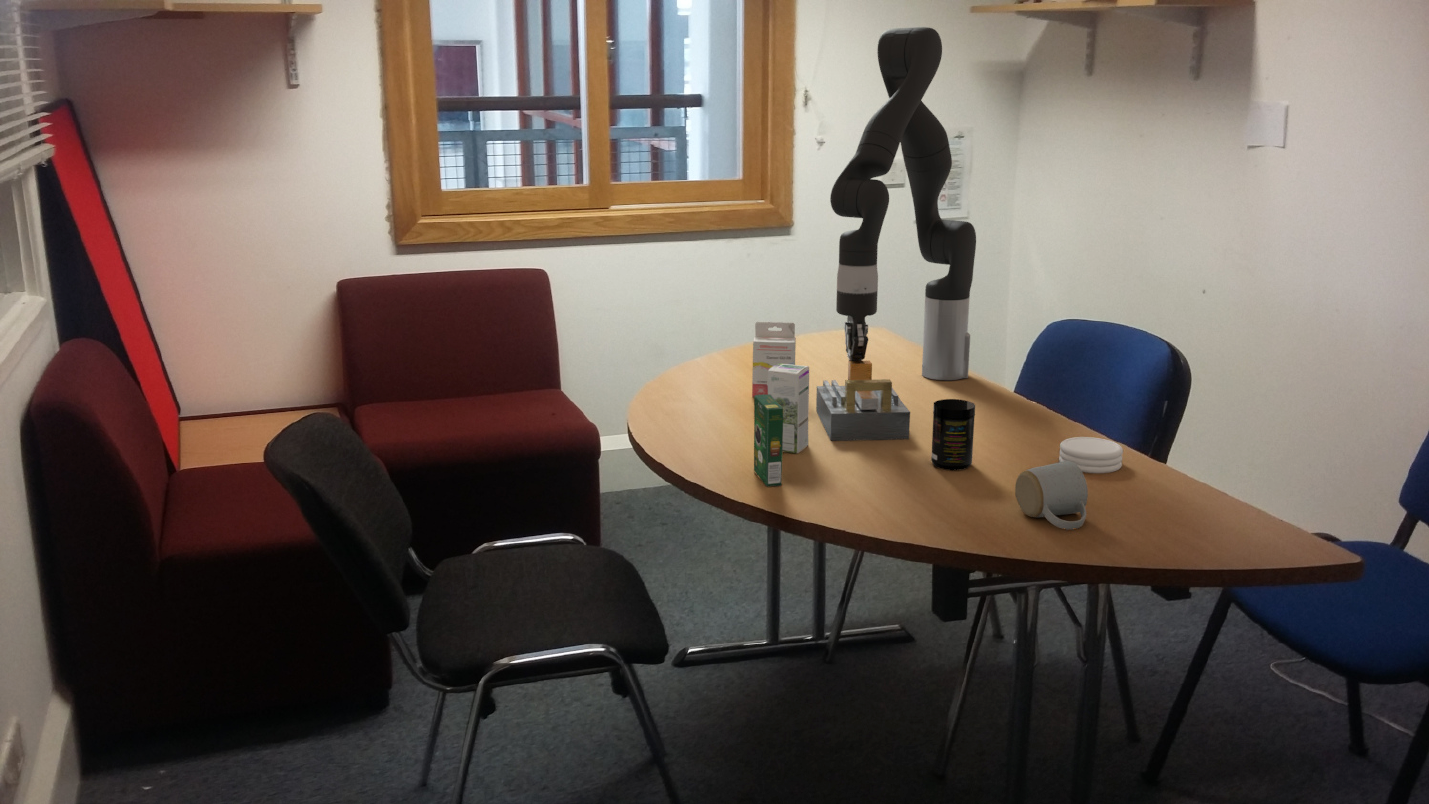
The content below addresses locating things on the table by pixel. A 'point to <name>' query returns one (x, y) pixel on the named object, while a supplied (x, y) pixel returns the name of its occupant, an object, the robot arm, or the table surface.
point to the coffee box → (768, 439)
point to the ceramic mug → (1053, 493)
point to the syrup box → (791, 403)
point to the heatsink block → (862, 411)
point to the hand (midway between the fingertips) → (854, 378)
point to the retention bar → (863, 372)
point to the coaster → (1092, 454)
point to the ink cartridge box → (771, 352)
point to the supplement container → (952, 434)
